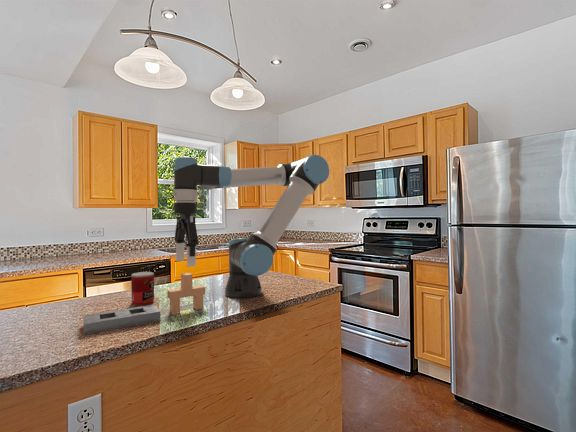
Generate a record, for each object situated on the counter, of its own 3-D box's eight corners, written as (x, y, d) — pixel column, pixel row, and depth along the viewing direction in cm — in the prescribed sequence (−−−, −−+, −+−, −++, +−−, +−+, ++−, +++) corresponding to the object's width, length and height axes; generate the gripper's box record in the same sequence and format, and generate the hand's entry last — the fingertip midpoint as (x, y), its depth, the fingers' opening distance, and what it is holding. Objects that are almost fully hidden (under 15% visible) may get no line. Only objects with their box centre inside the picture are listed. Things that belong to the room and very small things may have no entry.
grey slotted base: (154, 313, 105) (154, 304, 105) (160, 320, 98) (160, 311, 98) (83, 325, 94) (83, 315, 94) (84, 335, 86) (84, 324, 86)
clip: (202, 305, 113) (201, 271, 113) (205, 308, 110) (205, 272, 110) (167, 311, 107) (167, 275, 107) (170, 314, 104) (169, 277, 104)
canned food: (145, 306, 114) (145, 275, 114) (126, 304, 115) (126, 275, 115) (158, 300, 121) (158, 272, 121) (140, 299, 123) (140, 271, 123)
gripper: (165, 203, 117) (165, 259, 117) (184, 200, 96) (184, 269, 96) (186, 203, 121) (186, 258, 121) (208, 201, 100) (208, 267, 100)
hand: (185, 263), depth 108 cm, fingers open, 13 cm apart
